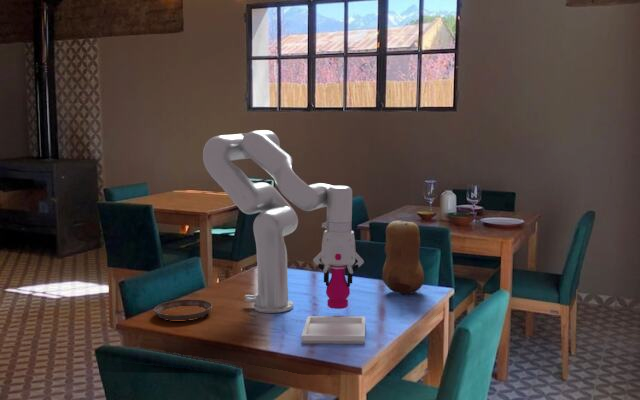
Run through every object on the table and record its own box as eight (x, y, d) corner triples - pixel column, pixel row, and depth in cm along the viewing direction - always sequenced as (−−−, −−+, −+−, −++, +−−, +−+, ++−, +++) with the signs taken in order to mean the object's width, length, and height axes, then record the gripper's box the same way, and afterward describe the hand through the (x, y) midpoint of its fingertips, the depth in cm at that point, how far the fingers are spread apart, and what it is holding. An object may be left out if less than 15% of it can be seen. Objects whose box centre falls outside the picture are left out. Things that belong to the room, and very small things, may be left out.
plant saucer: (168, 306, 218) (167, 297, 217) (220, 308, 215) (219, 299, 214) (144, 323, 201) (144, 313, 200) (201, 326, 198) (200, 316, 197)
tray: (301, 343, 180) (301, 335, 180) (307, 323, 197) (307, 316, 197) (364, 344, 179) (364, 336, 179) (365, 323, 196) (365, 316, 196)
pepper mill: (347, 310, 200) (348, 244, 197) (323, 308, 201) (324, 243, 198) (351, 303, 207) (352, 240, 204) (328, 301, 208) (329, 238, 205)
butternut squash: (420, 287, 234) (421, 217, 231) (426, 298, 221) (426, 223, 218) (381, 288, 235) (380, 217, 231) (384, 298, 221) (383, 224, 218)
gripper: (309, 228, 197) (308, 287, 200) (367, 230, 196) (366, 289, 199) (311, 223, 205) (310, 281, 207) (367, 225, 203) (366, 282, 206)
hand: (338, 284), depth 203 cm, fingers closed on pepper mill, 5 cm apart
